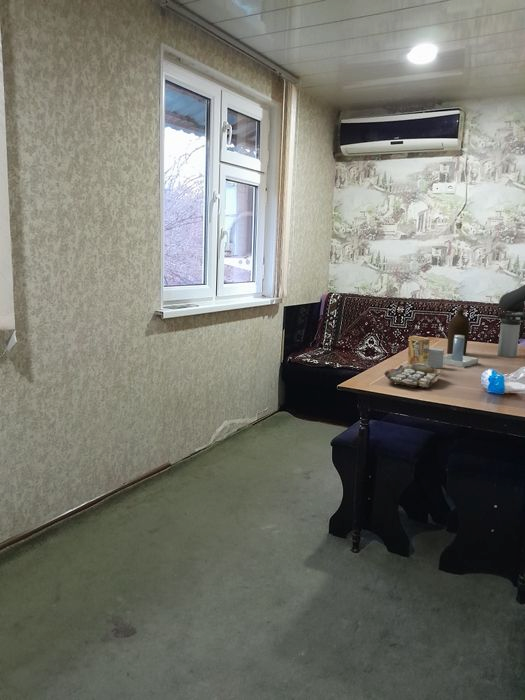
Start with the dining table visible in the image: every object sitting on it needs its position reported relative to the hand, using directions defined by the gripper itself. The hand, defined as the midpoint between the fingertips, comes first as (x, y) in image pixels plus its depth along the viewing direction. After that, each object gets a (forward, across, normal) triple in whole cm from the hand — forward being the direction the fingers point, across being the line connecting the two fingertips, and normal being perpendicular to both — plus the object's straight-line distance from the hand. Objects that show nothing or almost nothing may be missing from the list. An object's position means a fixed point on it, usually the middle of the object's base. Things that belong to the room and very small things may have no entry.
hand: (501, 314), depth 241 cm
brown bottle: (+30, -23, +26) cm, 46 cm away
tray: (+19, 0, +26) cm, 32 cm away
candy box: (+24, +30, +26) cm, 46 cm away
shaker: (+19, 0, +25) cm, 32 cm away
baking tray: (+14, +52, +26) cm, 59 cm away
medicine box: (+22, +18, +26) cm, 39 cm away
